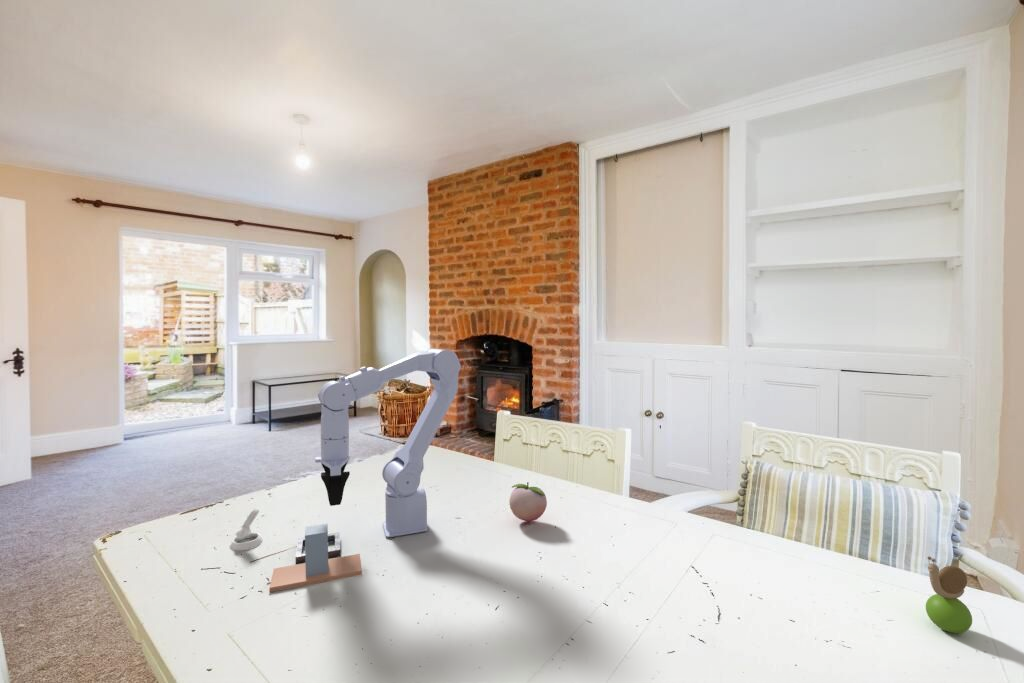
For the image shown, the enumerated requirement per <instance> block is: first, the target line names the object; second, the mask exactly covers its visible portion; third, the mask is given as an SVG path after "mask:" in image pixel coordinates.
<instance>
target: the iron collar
mask: <svg viewBox="0 0 1024 683" xmlns="http://www.w3.org/2000/svg"><path fill="white" fill-rule="evenodd" d="M340 533H341V532H333V533H328V544H329V543H334V547H335V548H330V549H329V548H328V559H332V558H338V557H341V537H340ZM304 548H305V537H301V538H297V544H296V550H295V551H296V552H295V565H297V564H303V563H305V552H304V553H303V549H304Z"/></svg>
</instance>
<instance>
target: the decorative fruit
mask: <svg viewBox="0 0 1024 683" xmlns="http://www.w3.org/2000/svg"><path fill="white" fill-rule="evenodd" d="M529 483H530V482H529V481H528V482H527V483H526V484H527V485H526V484H524V483H516V484H514V485H512V486H511V488H513V490H512V491H511V494H510V496H509V508H510V510H511V512H512V514H513V515H514V516H515V517H516V518H517V519H519V520H522V521H524V522H526V523H531V522H534V521H537V520H538V519H540V518H541V517H542V516H543V514H544V513H545V511H546V509H547V505H548V501H547V500H548V499H547V496H546V494H545V491H543V489H541V488H539V487H538V486H529Z"/></svg>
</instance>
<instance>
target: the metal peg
mask: <svg viewBox="0 0 1024 683" xmlns="http://www.w3.org/2000/svg"><path fill="white" fill-rule="evenodd" d="M328 528H329V526H328V523H324V524H323V523H321V524H316V525H309V526H305V530H304V538H305V547H304V553H305V566H306V577H308V576H314V575H319V574H324V573H328V550H329V545H328V544H329V543H328V534H329V531H328V530H329V529H328Z"/></svg>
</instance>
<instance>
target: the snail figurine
mask: <svg viewBox="0 0 1024 683" xmlns="http://www.w3.org/2000/svg"><path fill="white" fill-rule="evenodd" d="M927 560H928V561H931V562H932V563H930V562H928V565H927V570H928V572H929V580H930V584H931V587H932V589H933V591H934V592H935V594H933V595H931V596H929V598H928V599H927V600H926V602H925V611H926V613H927V616H928V618H929V619H930V621H931V622H932V623H933V624H934V625H935V626H937V628H940V629H941V630H943V631H945V632H948V633H952V634H962V633H965V632H967V631H969V629H970V628H971V626H972V624H973V616H972V612H971V611H970V609H969V608H968V606H967V605H966V604H965V603H964V602H963V601H961V600H960V599H959V598H960V597H962V596H963V595H964V593H965V589H966V587H967V584H968V577H967V575H966V572H965V571H964V570H963V569H961V568H960V567H958V566H955V565H946V566H944V567H942V568H941V569H940V567H939V566H938V565H937V564H935V563H936V559H935V558H934V557H931V556H930V555H928V556H927Z"/></svg>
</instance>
